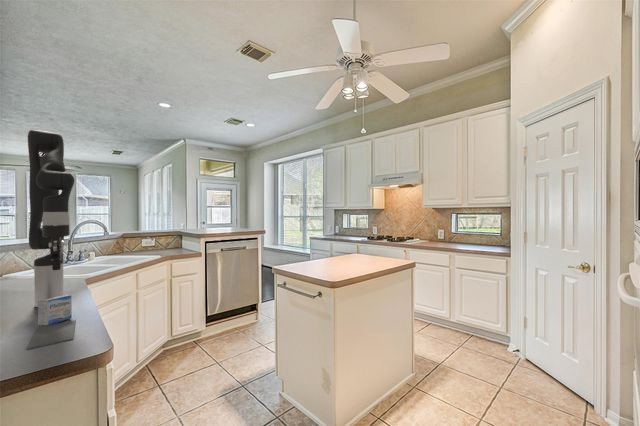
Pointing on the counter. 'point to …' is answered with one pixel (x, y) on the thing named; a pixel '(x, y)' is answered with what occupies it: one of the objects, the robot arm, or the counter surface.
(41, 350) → the counter surface
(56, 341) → the mat
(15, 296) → the counter surface
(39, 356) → the counter surface
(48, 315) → the medicine box
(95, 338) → the counter surface
